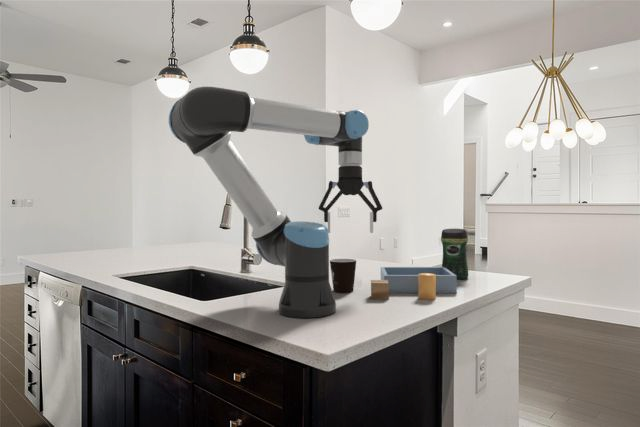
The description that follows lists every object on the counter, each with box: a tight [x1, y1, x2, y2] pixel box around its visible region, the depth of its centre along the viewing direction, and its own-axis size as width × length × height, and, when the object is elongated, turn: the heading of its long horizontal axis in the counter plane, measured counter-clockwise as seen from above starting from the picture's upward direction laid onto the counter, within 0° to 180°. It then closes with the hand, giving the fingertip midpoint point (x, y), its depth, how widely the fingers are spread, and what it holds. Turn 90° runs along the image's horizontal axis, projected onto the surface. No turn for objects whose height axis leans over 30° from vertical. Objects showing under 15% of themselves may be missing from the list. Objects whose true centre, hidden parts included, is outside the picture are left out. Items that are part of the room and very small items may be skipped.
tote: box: [380, 266, 458, 294], centre depth 144 cm, size 18×22×6 cm
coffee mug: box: [329, 258, 357, 294], centre depth 141 cm, size 12×9×10 cm
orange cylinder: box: [417, 273, 437, 301], centre depth 128 cm, size 5×5×7 cm
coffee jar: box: [440, 228, 469, 280], centre depth 162 cm, size 10×8×19 cm
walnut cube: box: [370, 279, 390, 301], centre depth 129 cm, size 5×5×5 cm
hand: (350, 232), depth 138 cm, fingers open, 13 cm apart
